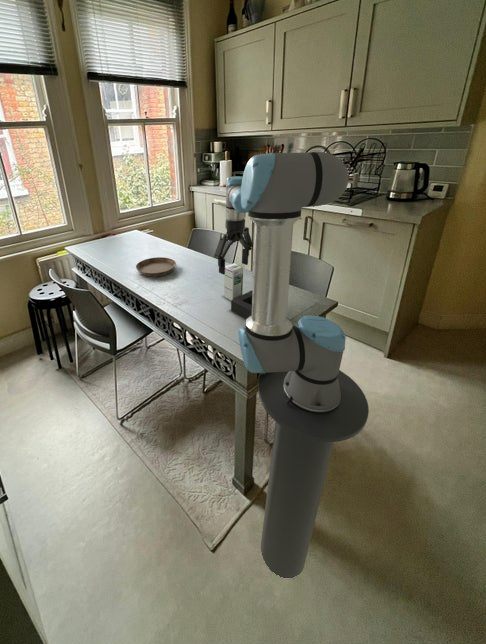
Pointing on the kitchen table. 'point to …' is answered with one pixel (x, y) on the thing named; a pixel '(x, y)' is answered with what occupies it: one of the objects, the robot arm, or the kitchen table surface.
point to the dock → (242, 305)
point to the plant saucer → (156, 266)
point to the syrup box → (233, 281)
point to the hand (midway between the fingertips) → (233, 268)
